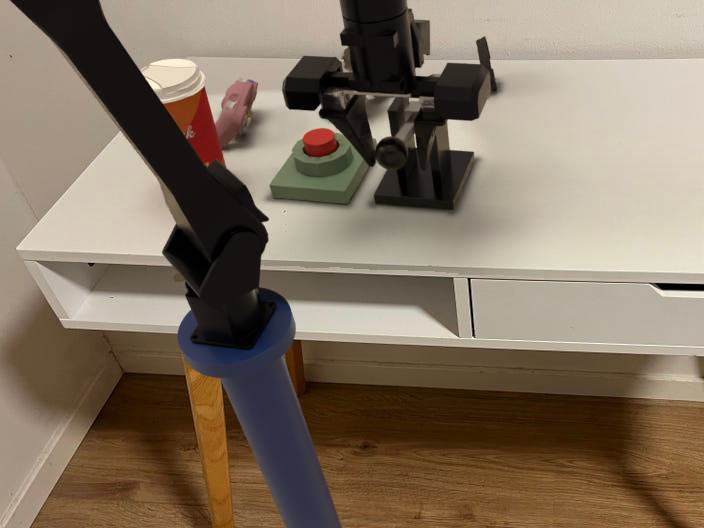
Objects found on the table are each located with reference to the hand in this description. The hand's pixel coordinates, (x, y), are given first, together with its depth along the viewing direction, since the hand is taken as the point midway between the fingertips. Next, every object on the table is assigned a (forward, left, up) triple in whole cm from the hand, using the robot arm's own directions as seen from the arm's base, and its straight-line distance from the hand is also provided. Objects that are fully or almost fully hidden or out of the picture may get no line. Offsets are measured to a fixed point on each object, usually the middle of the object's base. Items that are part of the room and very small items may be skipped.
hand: (398, 166), depth 79 cm
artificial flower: (+26, +7, -7) cm, 27 cm away
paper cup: (+3, +25, -7) cm, 26 cm away
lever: (+3, 0, 0) cm, 3 cm away
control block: (+8, +12, -7) cm, 16 cm away
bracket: (+8, 0, -7) cm, 10 cm away
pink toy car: (+16, +27, -7) cm, 32 cm away
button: (+8, +12, -4) cm, 15 cm away
